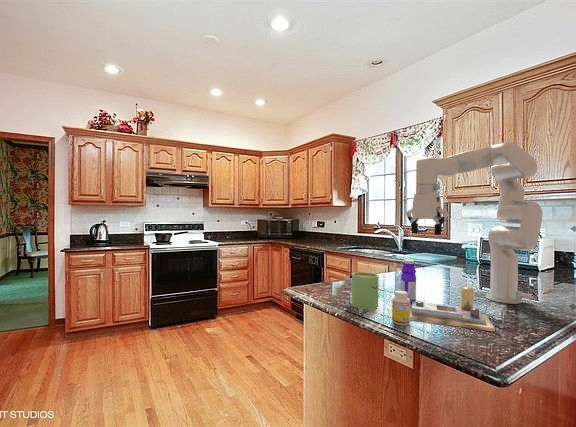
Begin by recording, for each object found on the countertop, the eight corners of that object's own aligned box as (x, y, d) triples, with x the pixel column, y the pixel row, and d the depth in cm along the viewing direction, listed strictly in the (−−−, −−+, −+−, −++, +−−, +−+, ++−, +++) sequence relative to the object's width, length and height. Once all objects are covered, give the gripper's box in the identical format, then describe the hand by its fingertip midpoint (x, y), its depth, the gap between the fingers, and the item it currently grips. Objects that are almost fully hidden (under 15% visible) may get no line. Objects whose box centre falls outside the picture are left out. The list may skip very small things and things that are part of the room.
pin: (472, 308, 119) (472, 287, 119) (473, 311, 115) (474, 289, 115) (460, 306, 120) (460, 286, 120) (461, 309, 117) (461, 288, 117)
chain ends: (481, 316, 106) (481, 306, 106) (485, 324, 98) (486, 314, 98) (412, 307, 115) (412, 298, 115) (411, 314, 107) (411, 304, 107)
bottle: (417, 305, 121) (418, 261, 121) (402, 304, 122) (402, 260, 122) (413, 300, 128) (414, 258, 128) (399, 299, 130) (400, 258, 130)
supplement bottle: (395, 318, 105) (396, 289, 105) (412, 322, 101) (412, 291, 101) (389, 323, 101) (389, 291, 101) (406, 327, 97) (406, 295, 97)
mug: (374, 311, 113) (375, 278, 113) (347, 306, 119) (348, 275, 119) (383, 303, 124) (384, 273, 124) (358, 298, 130) (359, 270, 130)
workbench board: (486, 317, 107) (486, 315, 107) (494, 331, 95) (494, 328, 95) (407, 307, 118) (407, 305, 118) (405, 318, 105) (405, 315, 105)
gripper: (454, 189, 114) (453, 235, 113) (412, 191, 128) (412, 232, 128) (442, 187, 109) (441, 235, 109) (401, 190, 124) (400, 232, 124)
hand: (425, 234), depth 119 cm, fingers open, 9 cm apart
